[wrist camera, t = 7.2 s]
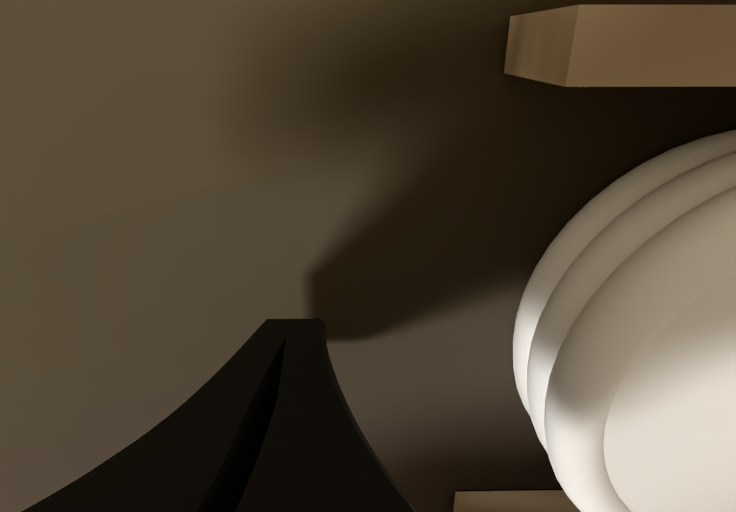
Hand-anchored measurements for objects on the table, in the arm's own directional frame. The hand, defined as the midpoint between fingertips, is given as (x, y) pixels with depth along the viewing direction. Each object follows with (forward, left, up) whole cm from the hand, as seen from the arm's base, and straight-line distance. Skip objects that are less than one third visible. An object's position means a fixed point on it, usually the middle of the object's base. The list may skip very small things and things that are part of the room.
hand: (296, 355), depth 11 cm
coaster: (0, -10, -2) cm, 10 cm away
